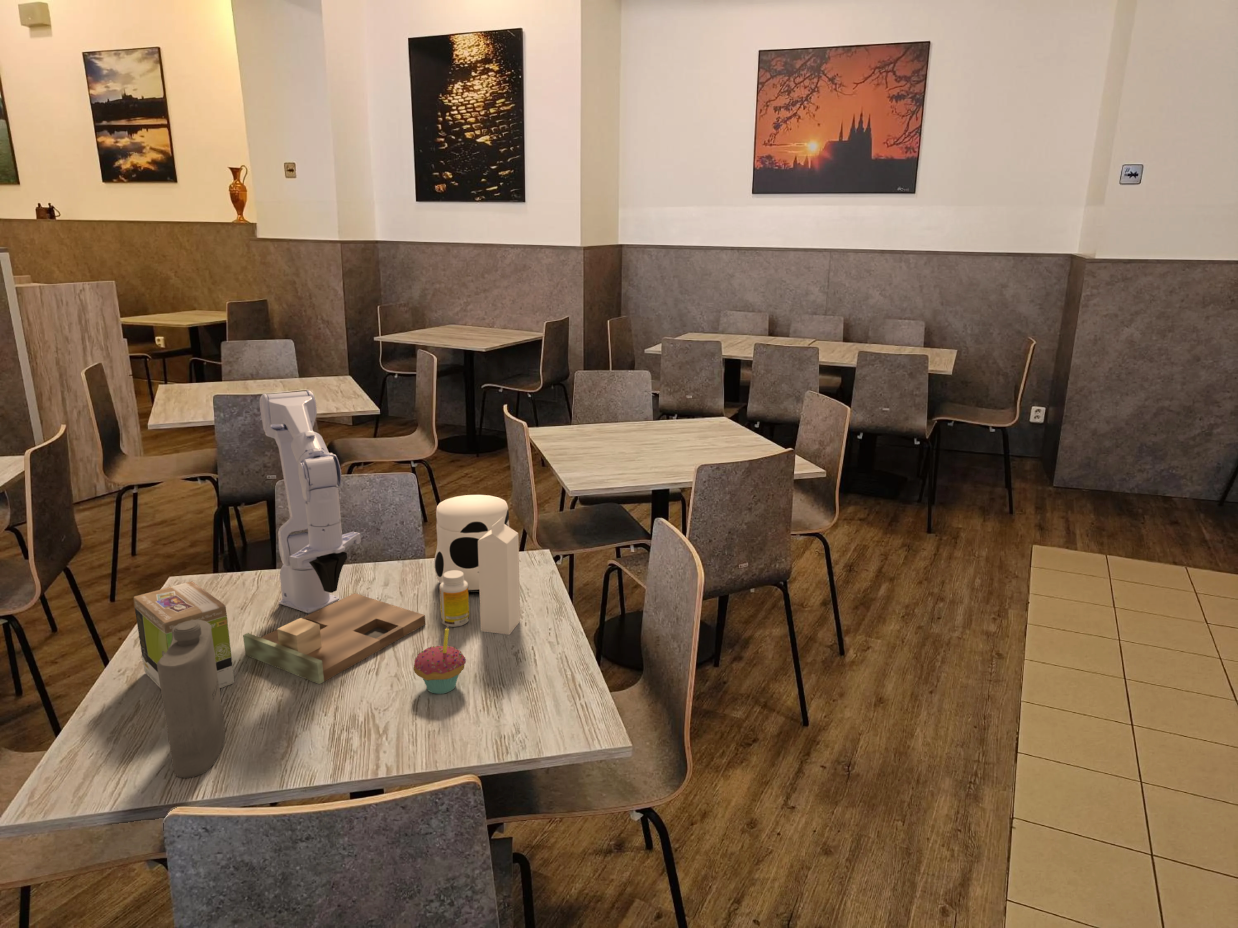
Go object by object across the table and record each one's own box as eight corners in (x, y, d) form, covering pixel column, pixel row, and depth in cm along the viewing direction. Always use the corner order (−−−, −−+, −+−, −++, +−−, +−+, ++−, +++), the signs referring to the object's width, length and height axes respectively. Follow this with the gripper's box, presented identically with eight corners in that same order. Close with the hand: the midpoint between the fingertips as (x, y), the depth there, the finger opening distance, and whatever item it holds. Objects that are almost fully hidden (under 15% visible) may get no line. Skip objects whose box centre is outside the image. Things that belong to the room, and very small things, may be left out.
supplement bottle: (474, 622, 161) (473, 575, 158) (449, 630, 158) (447, 582, 155) (461, 612, 165) (459, 566, 162) (436, 620, 162) (433, 572, 159)
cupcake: (475, 679, 140) (472, 616, 137) (449, 704, 133) (446, 638, 129) (432, 670, 143) (428, 608, 140) (404, 694, 135) (400, 629, 132)
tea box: (237, 683, 138) (227, 603, 134) (174, 706, 131) (161, 623, 127) (203, 652, 148) (192, 578, 144) (142, 673, 141) (129, 595, 137)
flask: (216, 773, 115) (198, 647, 110) (170, 781, 113) (150, 653, 108) (230, 716, 129) (215, 601, 123) (189, 722, 127) (172, 606, 122)
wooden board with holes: (245, 654, 148) (243, 634, 146) (355, 601, 169) (353, 584, 168) (319, 684, 138) (317, 663, 137) (425, 624, 160) (424, 605, 159)
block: (279, 651, 145) (277, 628, 144) (302, 639, 149) (300, 617, 148) (298, 658, 142) (296, 635, 141) (321, 646, 147) (319, 624, 145)
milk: (480, 631, 157) (475, 525, 151) (492, 617, 163) (488, 514, 157) (510, 635, 156) (506, 527, 150) (521, 621, 162) (518, 517, 156)
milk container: (450, 564, 189) (447, 491, 184) (522, 569, 187) (521, 495, 182) (423, 595, 173) (418, 516, 168) (502, 601, 170) (499, 520, 166)
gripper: (306, 537, 138) (313, 610, 142) (370, 514, 151) (375, 581, 154) (278, 530, 142) (286, 601, 146) (343, 507, 154) (349, 573, 158)
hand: (330, 590), depth 150 cm, fingers closed
